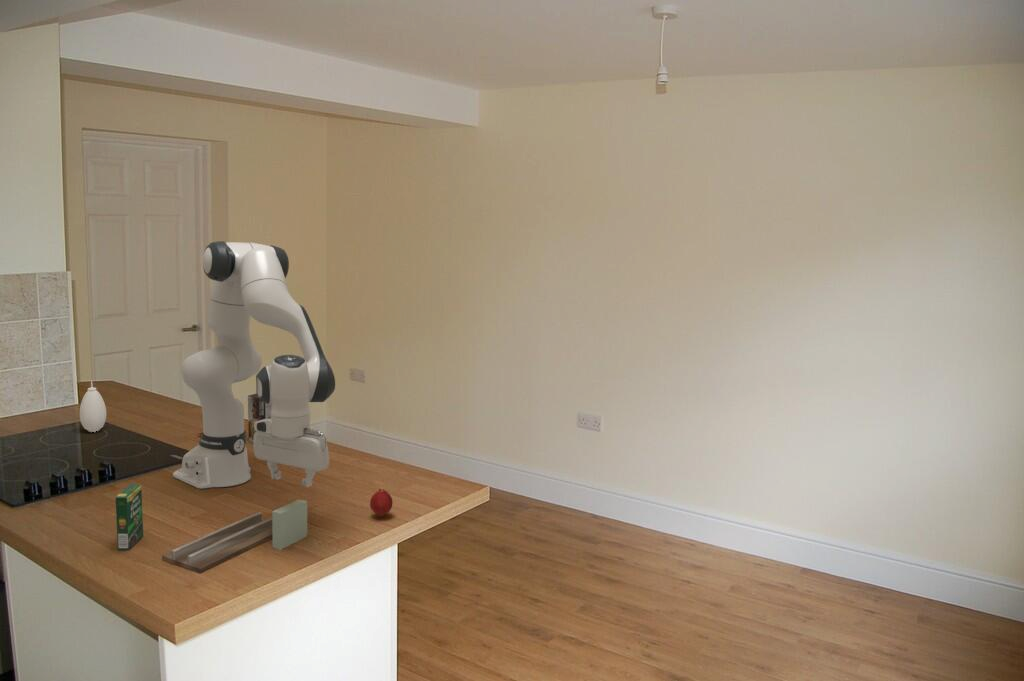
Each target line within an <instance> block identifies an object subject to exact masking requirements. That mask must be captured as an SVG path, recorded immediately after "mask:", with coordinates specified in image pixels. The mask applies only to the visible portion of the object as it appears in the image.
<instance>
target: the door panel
mask: <svg viewBox="0 0 1024 681" xmlns="http://www.w3.org/2000/svg"><path fill="white" fill-rule="evenodd" d="M271 515H272V516H271V517H272V534H273V538H272V548H273V549H275V548H276V549H275V550H279V551H282V550H284V549H286V548H287V547H290V546H292V545H293V543H294V544H295V543H298V542H299V541H301V540H303V539H305V538H307V537H308V501H307V500H303V499H297V500H294V501H293V502H290V503H288V504H285V505H284V506H281V507H279V508H277V509H275V510H272V512H271ZM291 544H292V545H291ZM283 548H284V549H283ZM281 549H282V550H281Z"/></svg>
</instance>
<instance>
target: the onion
mask: <svg viewBox="0 0 1024 681" xmlns="http://www.w3.org/2000/svg"><path fill="white" fill-rule="evenodd" d="M369 507H370V510H371V511H372V513H374V514H376V515H377V516H378V517H379V518H382V517H384V516H385V515H387V514H388V513H390V511H391V510H392V507H393V498H392V496H391V495H390V494H389V492H388V491H386V490H385V489H384V488H383V487H379V489H378V490H377V491H376V492H375V493H373V494H372V496H371V498H370V502H369Z"/></svg>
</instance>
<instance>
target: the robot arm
mask: <svg viewBox="0 0 1024 681" xmlns="http://www.w3.org/2000/svg"><path fill="white" fill-rule="evenodd" d="M289 260H290V259H289V256H288V254H287V252H286V251H285V249H283V248H281V247H279V246H275V245H267V244H262V243H256V242H249V241H247V242H243V241H242V242H239V241H237V242H235V241H234V242H233V241H229V242H225V241H224V240H222V241H221V240H220V241H219V240H218V241H213V242H210V243H209V244H208V245H206V247H205V249H204V252H203V255H202V267H203V272H204V274H205V275H206V277H207V278H209V279H210V280H212V283H211V288H210V295H209V304H208V309H207V310H208V311H207V320H206V322H207V326H208V328H209V329H210V331H211V332H213V333H214V334H215V335H216V339H217V340H216V341H217V344H216V347H213V348H208V349H203V350H200V351H198V352H195V353H193V354H191V355H190V356H187V357H186V358H185V359H184V360H183V362H182V364H181V368H180V374H181V377H182V380H183V381H184V384H185V385H186V386H188V387H189V388H190V389H191V390H193V391H194V393H195V394H196V395H197V397H198V400H199V403H200V405H201V411H202V425H203V426H202V427H203V428H202V430H203V432H200V433H197V434H195V435H196V439H198V438H199V440H198V444H197V445H196V446H194V447H193V448H192V449H191V450H189V451H188V452H186V453H185V454H184V455H183V457H182V460H181V468H179V469H177V470H175V471H174V472H173V473H172V477H173V478H174V479H176V480H179V481H182V482H184V483H186V484H187V485H190V486H192V487H195V488H197V489H208V488H224V487H226V488H227V487H234V486H238V485H241V484H244V483H246V482H249V480H251V478H252V475H251V471H252V470H251V467H250V466H249V459H248V458H249V456H248V450H247V446H246V444H247V430H246V429H245V406H244V404H243V402H242V401H240V400H239V399H238V398H235V396H234V393H233V391H232V384H235V383H238V382H239V383H240V382H243V381H246V380H247V379H250V378H251V377H253V376H255V379H256V380H255V381H256V382H255V383H256V386H255V388H256V392H255V394H256V393H257V397H258V398H259V399H260V400H262V401H263V402H264V403H266V404H272V410H271V417H269V418H266V419H263V420H260V421H257V422H255V423H254V429H255V431H256V432H255V434H254V442H253V445H252V446H253V454H254V457H255V458H256V459H257V460H261V461H266V462H267V463H266V465H267V467H268V469H269V471H270V474H271V475H270V477H271V479H272V480H276V481H279V480H280V479H281V478H282V471H281V470H279V467H278V465H277V464H280V465H285V466H289V467H294V468H297V469H298V468H299V469H303V470H305V474H306V477H304V478H302V479H301V482H302V483H301V485H302V487H306V488H310V487H312V485H313V478H314V477H315V474H316V473H319V472H321V471H324V470H326V469H327V468H328V467H329V466H330V453H329V447H328V443H327V442H328V439H327V436H326V435H325V434H324V433H323V432H322V431H321V430H314V429H311V410H310V407H309V403H324V402H325V401H327V400H328V399H329V398H330V397H331V396H332V394H333V393H334V392H335V389H336V378H335V375H334V371H333V369H332V367H331V365H330V363H329V362H328V360H327V358H326V356H325V353H324V350H323V349H322V346H321V343H320V341H319V338H318V335H317V333H316V331H315V327H314V325H313V323H312V321H311V318H310V316H309V314H308V312H307V311H306V309H305V307H304V306H303V305H300V304H299V303H297V301H295V300H294V298H293V297H292V295H291V294H290V292H289V289H288V285H287V281H286V278H287V276H288V273H289V270H290V269H289V268H290V262H289ZM251 318H252V319H254V320H255V321H256V322H258V323H260V324H263V325H266V326H270V327H274V328H277V329H281V330H282V331H284V332H285V331H286V332H288V333H290V334H291V335H293V336H294V337H295V338H296V340H297V342H298V346H299V347H300V349H301V352H302V355H303V357H304V358H303V357H302V356H299V355H295V354H282V355H279V356H275V357H274V358H273V359H272V362H271V364H270V365H266V366H263V367H262V364H263V362H262V357H261V353H260V351H259V350H258V348H256V347H255V346H254V345H253V342H252V338H251V333H250V332H251V331H250V323H251V322H250V321H251ZM261 367H262V368H261Z"/></svg>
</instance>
